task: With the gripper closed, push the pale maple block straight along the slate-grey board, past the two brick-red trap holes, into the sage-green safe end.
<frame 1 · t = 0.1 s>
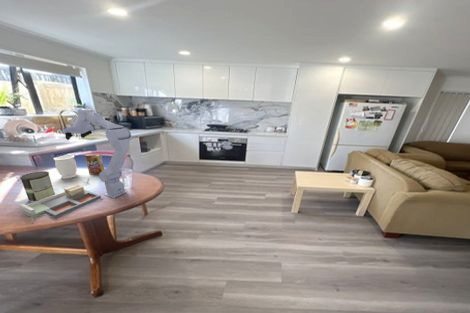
hand: (74, 137, 104), 32 cm above the table, tool tilted 50°, fingers open, 7 cm apart
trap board: (66, 205, 90), on the table
jar: (69, 176, 123), on the table
candy box: (97, 173, 130), on the table
coffee can: (42, 197, 96), on the table
maple block: (75, 193, 98), point 2 cm above the table, touching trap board
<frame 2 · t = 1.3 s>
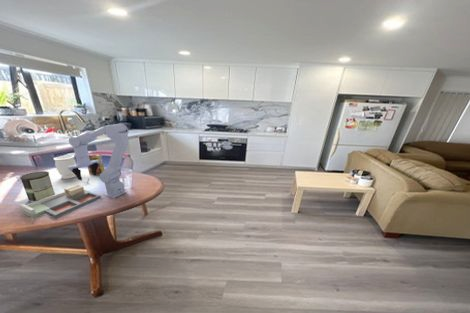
hand: (87, 177, 102), 9 cm above the table, tool pointing down, fingers open, 7 cm apart
nothing on the table moved.
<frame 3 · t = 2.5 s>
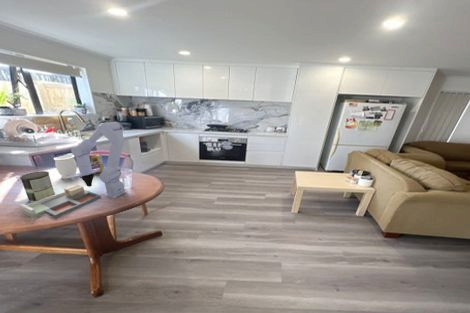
hand: (89, 185, 104), 4 cm above the table, tool pointing down, fingers closed
nothing on the table moved.
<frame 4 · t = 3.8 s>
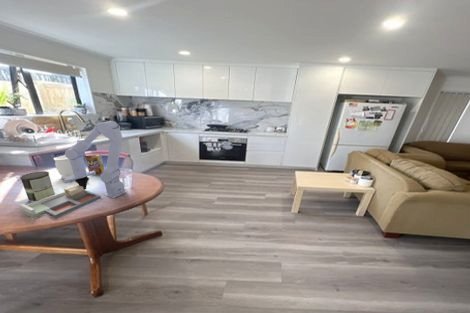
hand: (84, 189, 101), 3 cm above the table, tool pointing down, fingers closed
maple block: (75, 193, 97), point 2 cm above the table, touching gripper, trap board
everything else where it was.
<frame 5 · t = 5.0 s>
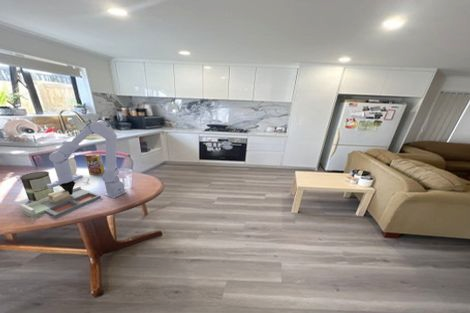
hand: (70, 194, 95), 3 cm above the table, tool pointing down, fingers closed
maple block: (60, 199, 91), point 2 cm above the table, touching gripper
everything else where it was.
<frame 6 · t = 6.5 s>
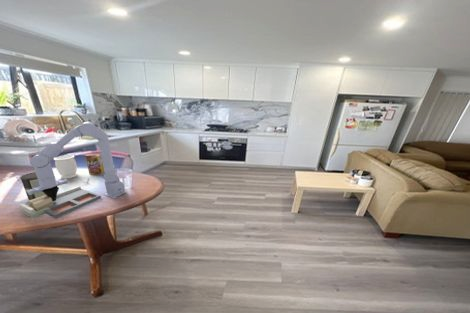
hand: (53, 200, 89), 3 cm above the table, tool pointing down, fingers closed
maple block: (42, 206, 85), point 2 cm above the table, touching gripper, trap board
everything else where it was.
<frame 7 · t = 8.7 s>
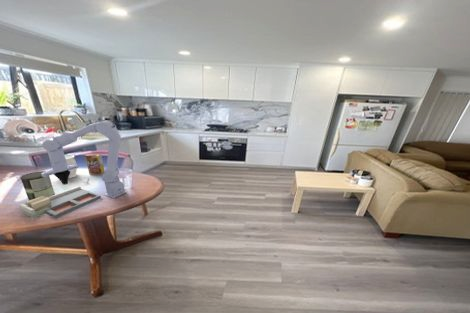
hand: (65, 184, 93), 9 cm above the table, tool pointing down, fingers closed
maple block: (40, 207, 85), point 2 cm above the table, touching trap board
everything else where it was.
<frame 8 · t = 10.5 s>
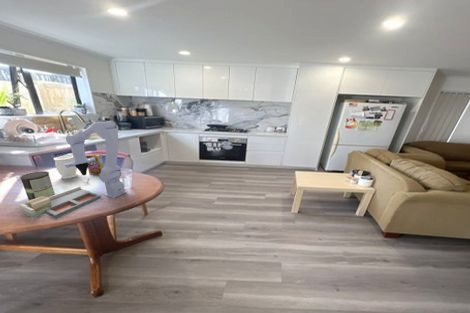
hand: (84, 174, 105), 9 cm above the table, tool pointing down, fingers closed
nothing on the table moved.
at the end: maple block inside the target area (0.2 cm from its centre), point 2.0 cm above the table; maple block tilted 0° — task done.
